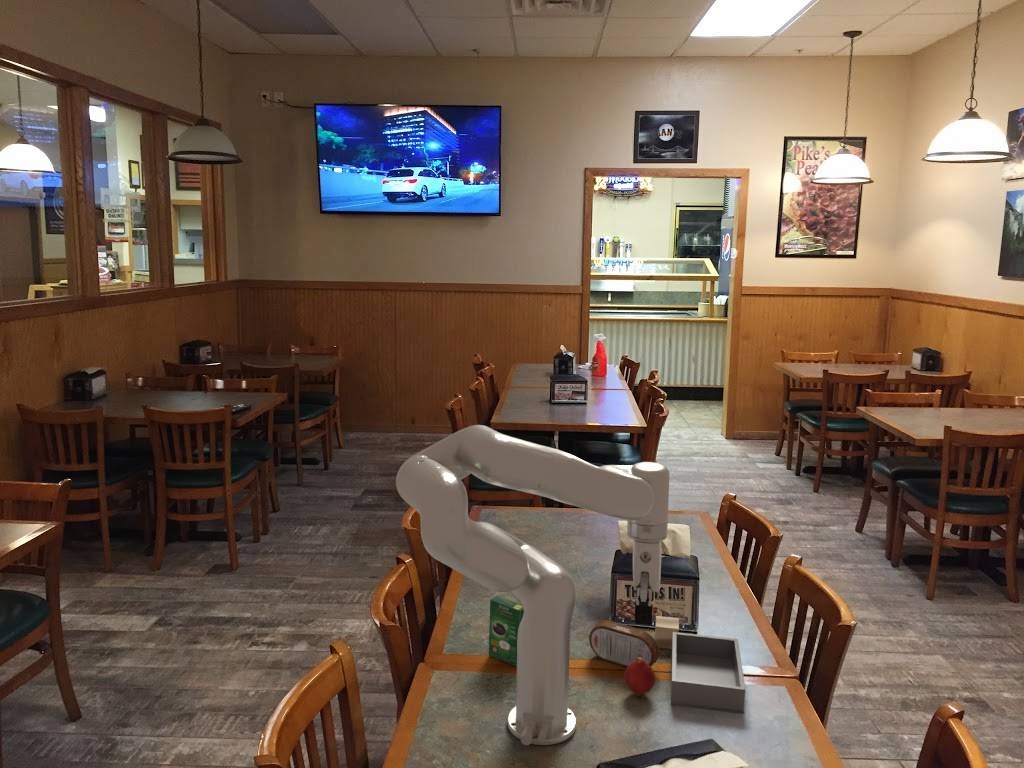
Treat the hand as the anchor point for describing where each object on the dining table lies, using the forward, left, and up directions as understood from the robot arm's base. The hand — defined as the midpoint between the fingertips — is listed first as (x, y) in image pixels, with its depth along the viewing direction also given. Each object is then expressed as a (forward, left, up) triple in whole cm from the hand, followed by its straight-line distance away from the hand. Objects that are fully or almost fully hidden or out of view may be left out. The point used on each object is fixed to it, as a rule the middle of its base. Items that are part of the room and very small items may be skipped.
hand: (644, 611), depth 154 cm
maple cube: (+22, -5, -18) cm, 28 cm away
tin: (+11, +4, -18) cm, 21 cm away
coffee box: (+7, +28, -18) cm, 34 cm away
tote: (+8, -13, -17) cm, 23 cm away
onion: (0, 0, -18) cm, 18 cm away
